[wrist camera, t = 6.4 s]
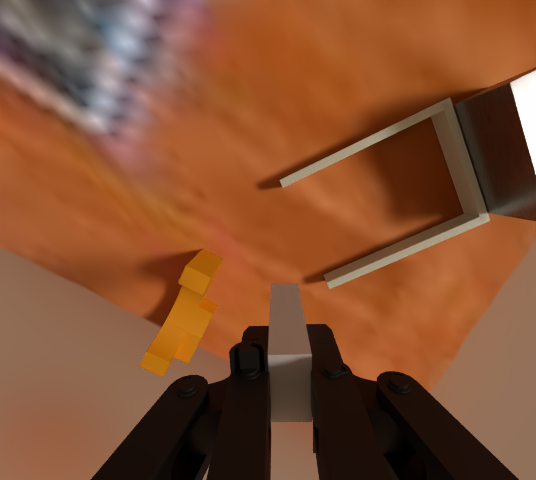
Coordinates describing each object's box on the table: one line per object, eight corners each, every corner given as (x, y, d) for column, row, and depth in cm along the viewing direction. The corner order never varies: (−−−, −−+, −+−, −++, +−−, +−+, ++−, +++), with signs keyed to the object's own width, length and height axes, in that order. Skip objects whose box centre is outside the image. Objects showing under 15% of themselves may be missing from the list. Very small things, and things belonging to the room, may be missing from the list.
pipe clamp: (195, 347, 36) (178, 383, 29) (163, 332, 35) (139, 366, 29) (237, 265, 33) (228, 286, 27) (203, 248, 33) (185, 265, 27)
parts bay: (279, 179, 31) (279, 180, 28) (435, 103, 29) (450, 97, 26) (325, 280, 33) (329, 289, 31) (473, 217, 31) (490, 220, 28)
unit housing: (438, 111, 29) (519, 78, 19) (491, 85, 28) (602, 39, 19) (472, 210, 31) (559, 225, 21) (521, 188, 30) (635, 194, 21)
